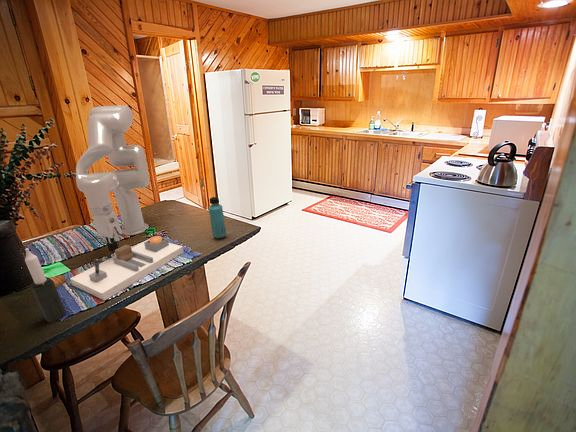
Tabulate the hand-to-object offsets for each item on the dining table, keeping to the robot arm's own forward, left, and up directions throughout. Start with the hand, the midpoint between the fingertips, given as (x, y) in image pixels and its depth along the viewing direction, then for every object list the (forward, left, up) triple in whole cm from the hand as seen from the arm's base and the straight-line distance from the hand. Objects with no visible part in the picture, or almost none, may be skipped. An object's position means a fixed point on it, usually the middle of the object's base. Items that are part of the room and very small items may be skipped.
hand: (114, 250), depth 127 cm
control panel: (+10, 0, -6) cm, 11 cm away
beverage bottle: (+25, +36, -6) cm, 44 cm away
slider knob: (+7, 0, -2) cm, 7 cm away
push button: (+10, +13, -2) cm, 16 cm away
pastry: (-7, -22, -6) cm, 24 cm away
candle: (+13, -30, -6) cm, 33 cm away
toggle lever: (+10, -13, 0) cm, 16 cm away
